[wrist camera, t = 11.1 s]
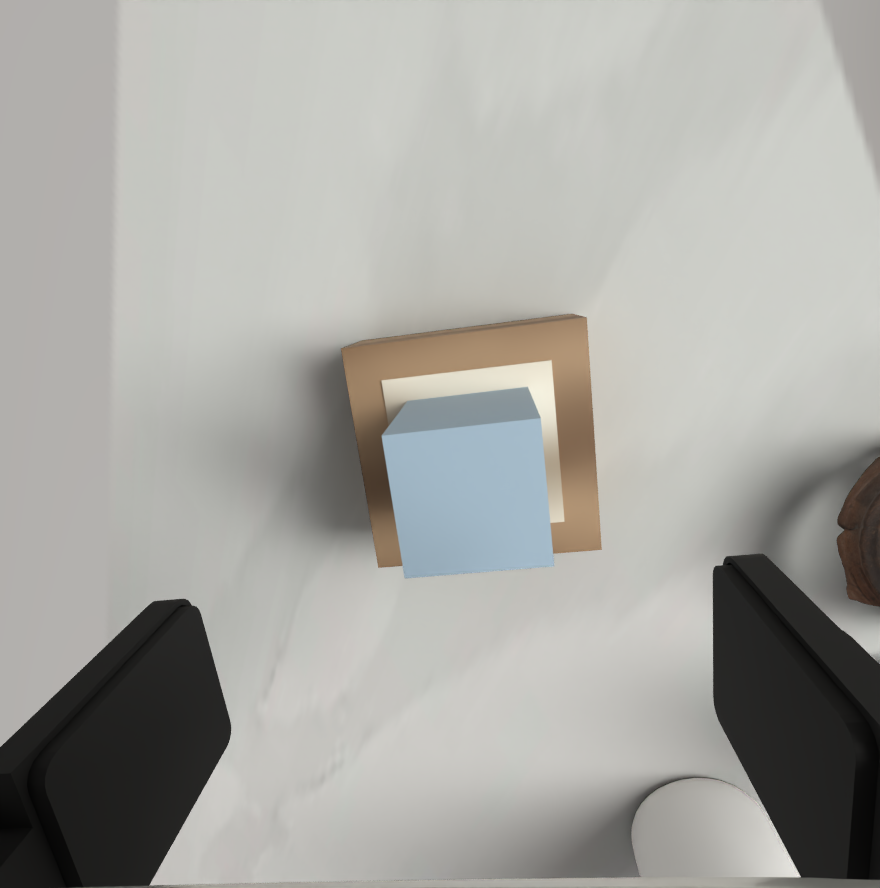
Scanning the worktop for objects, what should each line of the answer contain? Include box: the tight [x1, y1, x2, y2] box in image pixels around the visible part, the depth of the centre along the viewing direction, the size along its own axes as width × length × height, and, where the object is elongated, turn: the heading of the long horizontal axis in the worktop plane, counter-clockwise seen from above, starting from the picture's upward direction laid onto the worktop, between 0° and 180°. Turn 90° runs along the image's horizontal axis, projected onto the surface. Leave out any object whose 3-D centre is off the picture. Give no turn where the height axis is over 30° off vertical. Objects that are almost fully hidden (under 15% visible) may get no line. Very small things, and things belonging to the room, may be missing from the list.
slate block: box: [382, 387, 554, 578], centre depth 21 cm, size 5×5×6 cm
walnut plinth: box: [341, 314, 602, 568], centre depth 26 cm, size 10×10×4 cm
